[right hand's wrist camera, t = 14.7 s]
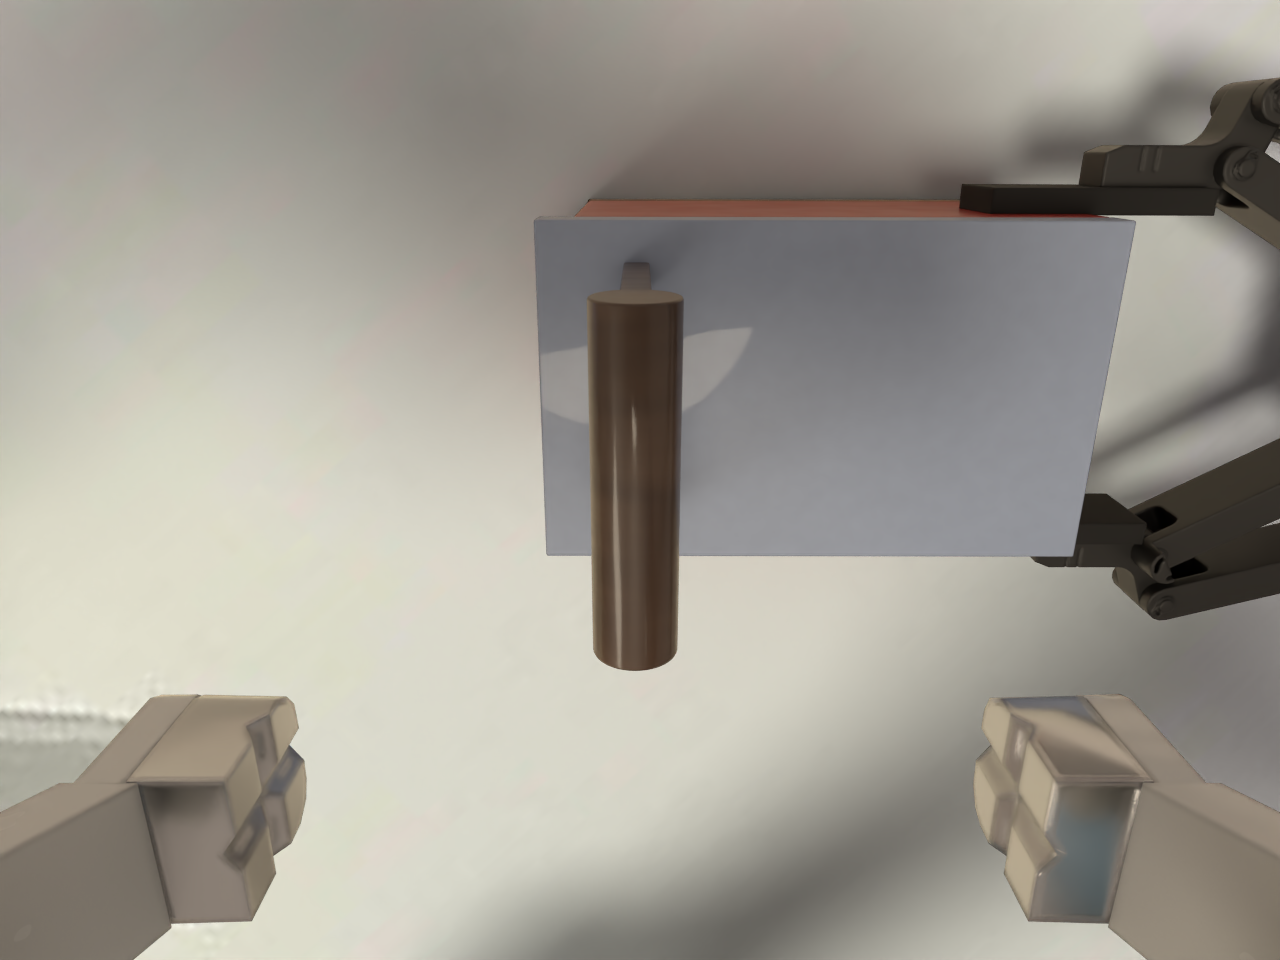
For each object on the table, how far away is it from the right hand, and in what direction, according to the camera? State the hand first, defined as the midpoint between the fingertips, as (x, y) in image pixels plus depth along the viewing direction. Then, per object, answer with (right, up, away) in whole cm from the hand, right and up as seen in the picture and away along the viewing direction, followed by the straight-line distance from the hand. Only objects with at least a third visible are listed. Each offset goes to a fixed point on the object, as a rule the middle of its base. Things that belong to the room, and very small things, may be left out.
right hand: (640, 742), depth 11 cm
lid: (+5, +6, +16) cm, 18 cm away
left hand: (+10, +7, +18) cm, 22 cm away
